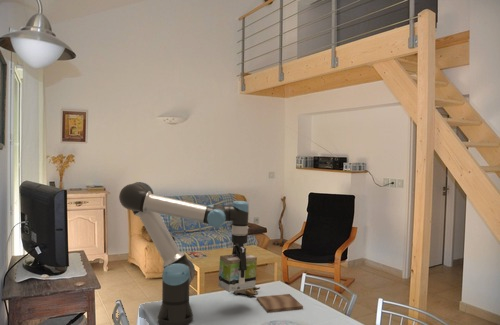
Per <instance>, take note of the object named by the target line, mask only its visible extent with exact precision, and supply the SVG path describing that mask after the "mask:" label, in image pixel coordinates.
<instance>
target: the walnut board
mask: <svg viewBox="0 0 500 325" xmlns="http://www.w3.org/2000/svg"><path fill="white" fill-rule="evenodd" d="M256 302H257V303H258V304H259V305H260V306H261V307H262V309H263V310H265V312H266V313H267V314H268V313H277V312H286V311H287V312H289V311H296V310H297V311H298V310H304V305H303V304H302V303H300V302H299V301H298V300H297V299H296V298H295V297H294V296H293V295H292V294H290V293H286V294H285V293H283V294H273V295H263V296H256Z"/></svg>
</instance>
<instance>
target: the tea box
mask: <svg viewBox="0 0 500 325" xmlns="http://www.w3.org/2000/svg"><path fill="white" fill-rule="evenodd" d="M219 256H220V257H219V268H218V283H217V284H218V287H219V288H221V289H223V290H225V291H226V292H228V293H231V292H234V291H236V290H242V289H248V288H255V287H256V283H257V282H256V280H257V266H258V265H257V262H258V261H257V260H258V256H257V257H256V256H254V255H252V254H250V253H247V252H246V265H247V270H245V284H240V285H239V271H238V269H240V267H239V266H240V259H239V258H238V256H237V254H232V253H231V254H225V255H219Z"/></svg>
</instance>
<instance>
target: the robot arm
mask: <svg viewBox="0 0 500 325" xmlns="http://www.w3.org/2000/svg"><path fill="white" fill-rule="evenodd" d="M118 196H119V197H118V199H119V202H120V205H121V206H122V207H123V208H125V209H127V210H128V211H132V214H133V215H134V216H135V217H138V218H140V221H141V222H142V225H143V227H144V228H145V230H146V232H147V234H148V236H149V237H150V239H151V240H152V243H153V244H154V247H155V248H156V250H157V251H158V253H159V256H160V257H161V258H162V261H163V263H162V268H163V270H162V275H161V278H162V282H161V283H162V289H161V292H162V297H161V298H162V299H161V300H162V302H161V306H160V309H159V311H158V314H157V323H158V324H159V325H189V324H191V323H192V322H193V320H194V314H193V310H192V308H191V304H190V285H191V283H192V282H193V280H194V277H195V274H196V268H195V265H194V263H193V262H192V261H191V259H188V257H187V256H186V253H185V252H181V251H180V249H179V247H178V246H177V243H176V242H175V240H174V238H173V237H172V234H171V233H170V231H169V230H168V227H167V226H166V224H165V222H164V220H163V218H162V216H161V215H165V216H169V217H170V216H171V217H175V218H180V219H184V220H187V221H188V220H190V221H193V222H198V223H203V224H206V225H209V226H211V227H212V228H219V227H221V226H222V225H224V223H225V222H232V223H231V243H232V244H233V245H232V252H231V255H232V254H237V256H238V258H239V259H240V266H239V267H240V269H238V271H239V285H240V284H245V270H247V265H246V253H247V248H246V247H245V246H244V244H247V243H248V241H249V240H248V237H249V236H248V233H249V232H248V231H249V229H250V227H249V211H250V210H249V203H248V201H246V200H245V201H244V200H234V201H233V202H232V204H230V205H228V204H227V205H226V204H216V203H215V204H207V205H204V204H199V203H195V202H191V201H185V200H181V199H176V198H172V197H167V196H162V195H158V194H154V190H153V188H152V187H151V186H150V185H149V184H148V183H146V182H142V181H136V182H134V183H129V184H126V185H125V186H123V188H122V189H121V190H120V191H119V195H118ZM160 214H161V215H160Z"/></svg>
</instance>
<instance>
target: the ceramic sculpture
mask: <svg viewBox="0 0 500 325" xmlns="http://www.w3.org/2000/svg"><path fill="white" fill-rule="evenodd" d="M260 289H261V287H258V286H255V288H248V289H242V290H236V291H233V293H234V294H236V295H237V294H243V295H248V296H251V297H253V296H258V295H259V293H257V291H258V290H260Z"/></svg>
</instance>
